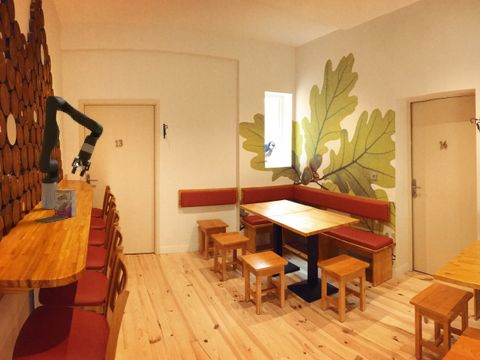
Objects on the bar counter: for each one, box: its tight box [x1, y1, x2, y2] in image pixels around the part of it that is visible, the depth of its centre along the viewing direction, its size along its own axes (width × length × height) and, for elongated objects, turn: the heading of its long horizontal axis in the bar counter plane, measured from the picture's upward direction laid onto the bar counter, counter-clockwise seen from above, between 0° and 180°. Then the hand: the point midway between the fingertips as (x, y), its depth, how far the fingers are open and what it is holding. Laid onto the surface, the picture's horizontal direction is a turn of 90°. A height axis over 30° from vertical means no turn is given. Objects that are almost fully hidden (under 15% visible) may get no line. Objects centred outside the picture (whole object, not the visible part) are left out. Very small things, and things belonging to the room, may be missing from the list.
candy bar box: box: [54, 188, 77, 218], centre depth 206 cm, size 11×5×16 cm, turn 84°
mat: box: [34, 214, 69, 224], centre depth 197 cm, size 11×13×1 cm
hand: (76, 175), depth 215 cm, fingers open, 8 cm apart
